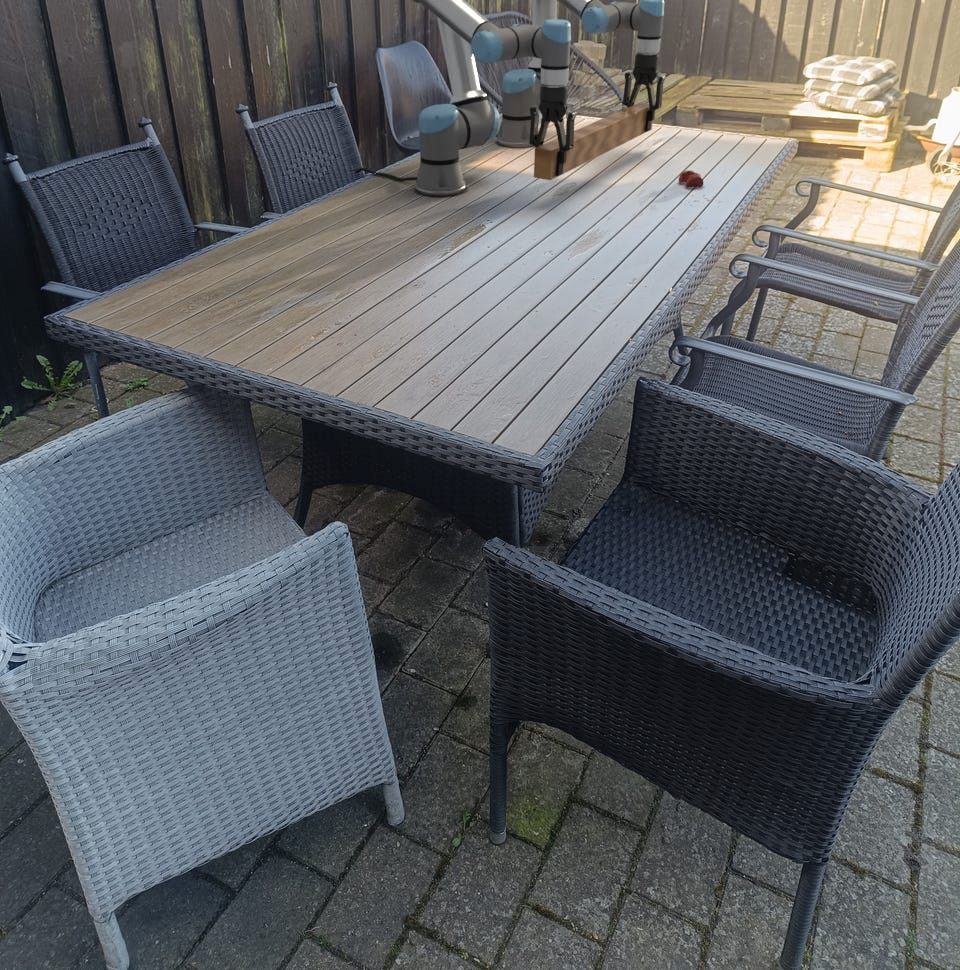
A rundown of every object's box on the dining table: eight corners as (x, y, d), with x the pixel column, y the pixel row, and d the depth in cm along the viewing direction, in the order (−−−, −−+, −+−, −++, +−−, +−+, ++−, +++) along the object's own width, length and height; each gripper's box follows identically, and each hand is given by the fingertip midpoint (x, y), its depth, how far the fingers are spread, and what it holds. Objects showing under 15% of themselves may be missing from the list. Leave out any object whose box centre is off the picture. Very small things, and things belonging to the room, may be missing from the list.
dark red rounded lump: (694, 166, 263) (706, 173, 257) (693, 180, 266) (704, 187, 260) (677, 168, 262) (689, 175, 256) (676, 182, 265) (687, 189, 259)
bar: (550, 180, 237) (551, 150, 232) (533, 177, 240) (534, 148, 235) (651, 129, 286) (654, 104, 281) (637, 127, 288) (639, 102, 283)
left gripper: (591, 86, 226) (584, 175, 240) (531, 79, 234) (528, 165, 248) (578, 91, 221) (572, 181, 234) (517, 83, 229) (515, 171, 243)
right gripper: (678, 54, 268) (669, 131, 282) (625, 48, 277) (619, 123, 290) (669, 57, 263) (660, 135, 277) (615, 52, 272) (609, 128, 285)
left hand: (550, 173), depth 241 cm, fingers closed on bar, 5 cm apart
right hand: (639, 129), depth 284 cm, fingers closed on bar, 5 cm apart
